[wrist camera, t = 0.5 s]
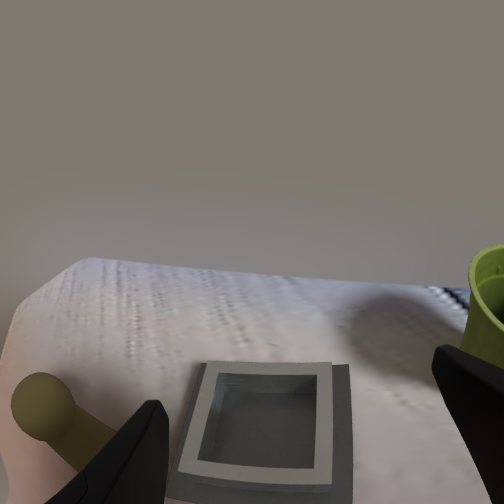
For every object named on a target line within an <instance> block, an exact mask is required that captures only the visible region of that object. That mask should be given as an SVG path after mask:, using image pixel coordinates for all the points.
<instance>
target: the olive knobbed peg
mask: <svg viewBox="0 0 504 504" xmlns="http://www.w3.org/2000/svg"><path fill="white" fill-rule="evenodd" d="M11 409H12V414H13V417H14V419H15V421H16V422H17V424H18V425H19V427H20V428H21V429H22V431H24V432H25V433H26V434H28V435H29V436H31V437H32V438H34V439H37V440H39V441H46V442H47V443H48V444H49V445H50V446H51V447H52V448H53V449H54V450H55V451H56V452H57V453H58V454H59V455H60V456H61V457H62V458H63V459H64V460H65V461H66V462H67V463H68V464H70V465H71V466H72V467H73V468H74V469H75V470H76V471H77V472H80V471H81V470H82V469H84V467H85V466H86V465H87V464H88V463H89V462H90V460H91V459H92V458H93V457H94V456H95V455H96V454H97V453H98V452H99V451H100V450H101V449H102V448H103V447H104V446H105V445H106V443H107V442H108V441H109V440H110V439H111V438H112V437H113V436H114V435H115V434H116V433H117V432H116V431H114V430H113V429H111V428H110V427H108V426H107V425H105V424H104V423H102V422H101V421H99V420H98V419H96V418H95V417H93V416H92V415H90V414H89V413H87V412H86V411H85V410H83V409H82V408H80V407H79V406H78V405H76V404H75V401H74V399H73V396H72V394H71V392H70V390H69V389H68V388H67V386H66V385H65V384H64V383H63V382H62V381H61V380H60V379H58V378H57V377H55V376H53V375H51V374H48V373H34V374H31V375H29V376H27V377H26V378H24V379H23V380H22V381H21V382H20V383H19V384H18V386H17V387H16V389H15V391H14V393H13V396H12V399H11Z"/></svg>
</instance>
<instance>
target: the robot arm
mask: <svg viewBox="0 0 504 504" xmlns="http://www.w3.org/2000/svg"><path fill="white" fill-rule="evenodd" d="M432 372H433V375H434V377H435V380H436V382H437V384H438V387H439V389H440V392H441V394H442V397H443V399H444V402H445V404H446V406H447V408H448V410H449V412H450V414H451V416H452V418H453V420H454V422H455V424H456V426H457V428H458V430H459V432H460V434H461V436H462V438H463V440H464V442H465V444H466V446H467V448H468V450H469V452H470V454H471V456H472V458H473V461H474V463H475V465H476V467H477V469H478V471H479V474H480V476H481V478H482V481H483V483H484V485H485V487H486V490H487V492H488V495H490V496H489V497H490V500H491V502H492V504H504V369H503V368H501V367H498V366H496V365H494V364H492V363H489V362H487V361H485V360H482V359H480V358H478V357H475V356H473V355H471V354H469V353H466V352H464V351H462V350H459V349H457V348H455V347H453V346H450V345H448V344H445V345H442V346H439V347H437V348H436V350H435V353H434V357H433V362H432ZM168 462H169V418H168V415H167V413H166V411H165V409H164V407H163V405H162V403H161V402H160V401H159V400H147V401H145V402H144V403H143V405H142V406H141V407H140V408H139V409H138V410H137V411H136V412H135V413H134V414H133V415H132V417H131V418H130V419H129V420H128V421H127V422H126V423H125V424H124V425H123V426H122V427H121V428H120V429H119V431H118V432H117V433H116V434H115V435H114V436H113V437H112V438H111V439H110V440H109V441H108V442H107V443H106V445H105V446H104V447H103V448H102V449H101V450H100V451H99V452H98V453H97V454H96V455H95V456H94V457H93V458H92V459H91V460H90V462H89V463H88V464H87V465H86V466H85V467H84V469H82V470H81V471H80V472H79V473H78V474H77V475H76V476H75V477H74V478H73V479H72V480H71V481H70V482H69V483H68V484H67V485H66V486H65V487H64V488H62V489H61V490H60V491H59V492H58V493H57V494H55V495H54V496H53V497H52V498H51V499H49V500H48V501H47V502H46V503H44V504H164V497H165V488H166V480H167V472H168Z"/></svg>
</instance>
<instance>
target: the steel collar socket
mask: <svg viewBox="0 0 504 504" xmlns="http://www.w3.org/2000/svg"><path fill="white" fill-rule="evenodd" d="M165 496H166V497H169V498H173V499H177V500H181V501H186V502H191V503H196V504H352V500H353V435H352V408H351V389H350V374H349V364H345V365H332V362H317V363H252V362H226V361H208V362H207V363H202V364H201V368H200V371H199V375H198V378H197V381H196V385H195V388H194V392H193V395H192V399H191V402H190V406H189V409H188V412H187V416H186V419H185V423H184V426H183V430H182V433H181V437H180V440H179V444H178V447H177V451H176V455H175V458H174V462H173V465H172V469H171V472H170V476H169V480H168V483H167V487H166V491H165Z"/></svg>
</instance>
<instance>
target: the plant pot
mask: <svg viewBox="0 0 504 504" xmlns="http://www.w3.org/2000/svg"><path fill="white" fill-rule="evenodd" d="M468 279H469V285H470V289H471V294H470V302H469V303H470V310H469V314H468V319H467V324H466V328H465V332H464V336H463V340H462V343H461V347H460V350H462V351H464V352H466V353H469V354H471V355H473V356H475V357H478V358H480V359H482V360H485V361H487V362H489V363H492V364H494V365H496V366H498V367H501V368H503V369H504V244H502V245H493V246H490V247H487V248H485V249H483V250H481V251H480V252H479V253H477V254H476V255H475V257H474V258H473V260H472V261H471V264H470V266H469V272H468Z"/></svg>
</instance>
